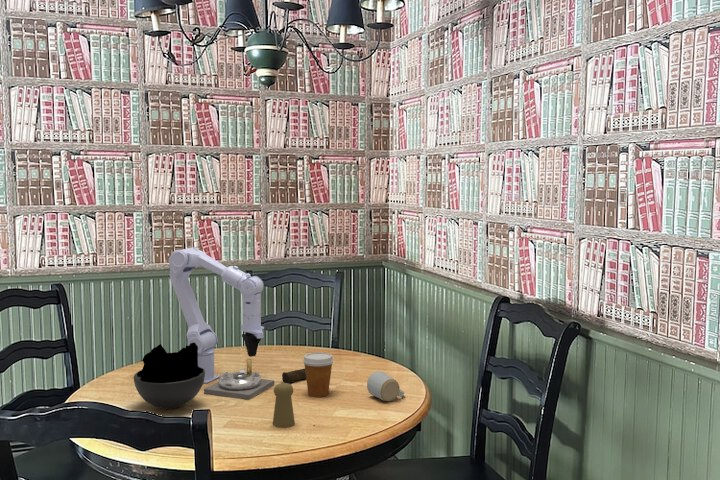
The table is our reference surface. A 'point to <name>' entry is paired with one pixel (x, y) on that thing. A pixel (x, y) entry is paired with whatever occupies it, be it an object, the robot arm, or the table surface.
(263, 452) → the table surface
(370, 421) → the table surface
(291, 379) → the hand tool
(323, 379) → the disposable coffee cup
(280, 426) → the olive pawn figure
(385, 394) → the ceramic mug
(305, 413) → the table surface
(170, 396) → the coal bowl
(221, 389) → the base plate
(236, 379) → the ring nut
